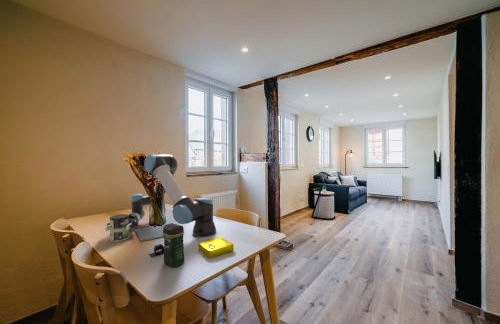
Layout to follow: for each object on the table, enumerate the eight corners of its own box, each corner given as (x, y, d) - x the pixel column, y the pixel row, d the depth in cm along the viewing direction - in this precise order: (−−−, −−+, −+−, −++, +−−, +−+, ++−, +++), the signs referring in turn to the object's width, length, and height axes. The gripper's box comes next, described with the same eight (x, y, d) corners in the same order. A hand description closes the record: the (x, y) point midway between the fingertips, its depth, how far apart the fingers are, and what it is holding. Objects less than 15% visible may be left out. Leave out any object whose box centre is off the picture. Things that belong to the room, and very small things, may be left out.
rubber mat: (174, 234, 143) (174, 233, 143) (140, 241, 132) (140, 240, 132) (165, 225, 165) (165, 223, 165) (135, 230, 154) (135, 229, 154)
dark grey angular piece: (167, 248, 123) (167, 240, 123) (173, 252, 118) (173, 244, 118) (144, 255, 115) (144, 246, 115) (149, 260, 109) (148, 251, 109)
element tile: (235, 251, 117) (234, 243, 117) (209, 260, 108) (209, 250, 108) (220, 243, 129) (220, 235, 129) (196, 250, 120) (196, 241, 120)
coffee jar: (187, 262, 105) (186, 224, 104) (172, 269, 99) (171, 228, 98) (175, 257, 111) (174, 220, 110) (160, 263, 105) (159, 224, 104)
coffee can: (133, 236, 142) (132, 214, 142) (120, 242, 132) (119, 218, 132) (119, 235, 144) (118, 213, 144) (106, 241, 134) (105, 218, 134)
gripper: (149, 223, 157) (136, 233, 135) (114, 224, 155) (96, 235, 133) (149, 212, 157) (136, 221, 135) (114, 214, 154) (95, 223, 133)
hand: (116, 228), depth 134 cm, fingers open, 11 cm apart
